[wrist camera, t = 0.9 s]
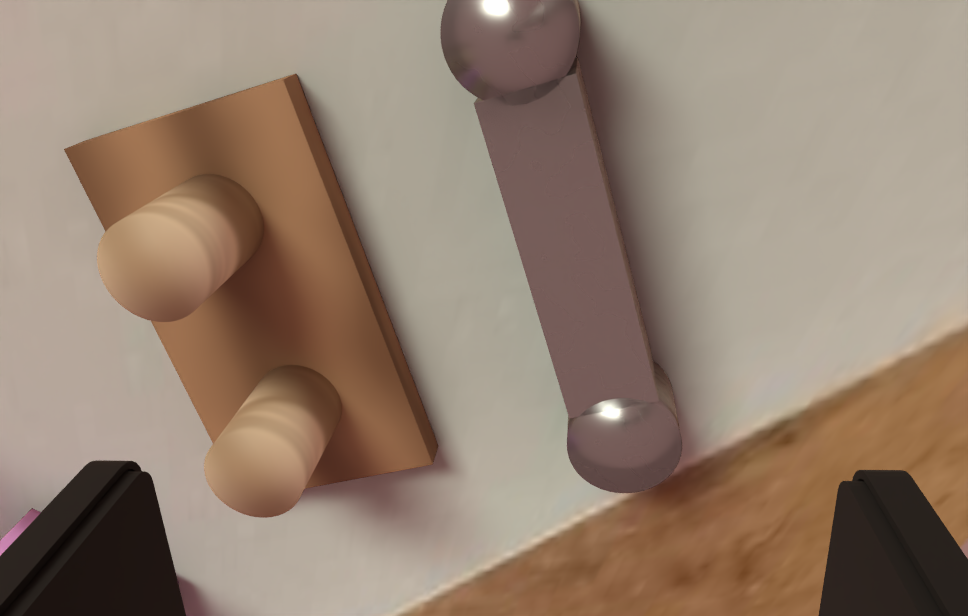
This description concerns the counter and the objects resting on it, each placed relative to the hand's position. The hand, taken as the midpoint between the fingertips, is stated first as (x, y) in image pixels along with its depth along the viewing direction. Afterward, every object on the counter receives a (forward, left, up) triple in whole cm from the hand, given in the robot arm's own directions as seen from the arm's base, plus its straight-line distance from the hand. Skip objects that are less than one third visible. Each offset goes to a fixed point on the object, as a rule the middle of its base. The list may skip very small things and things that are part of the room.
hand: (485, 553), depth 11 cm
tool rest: (+14, +3, -23) cm, 27 cm away
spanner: (0, +3, -23) cm, 24 cm away
